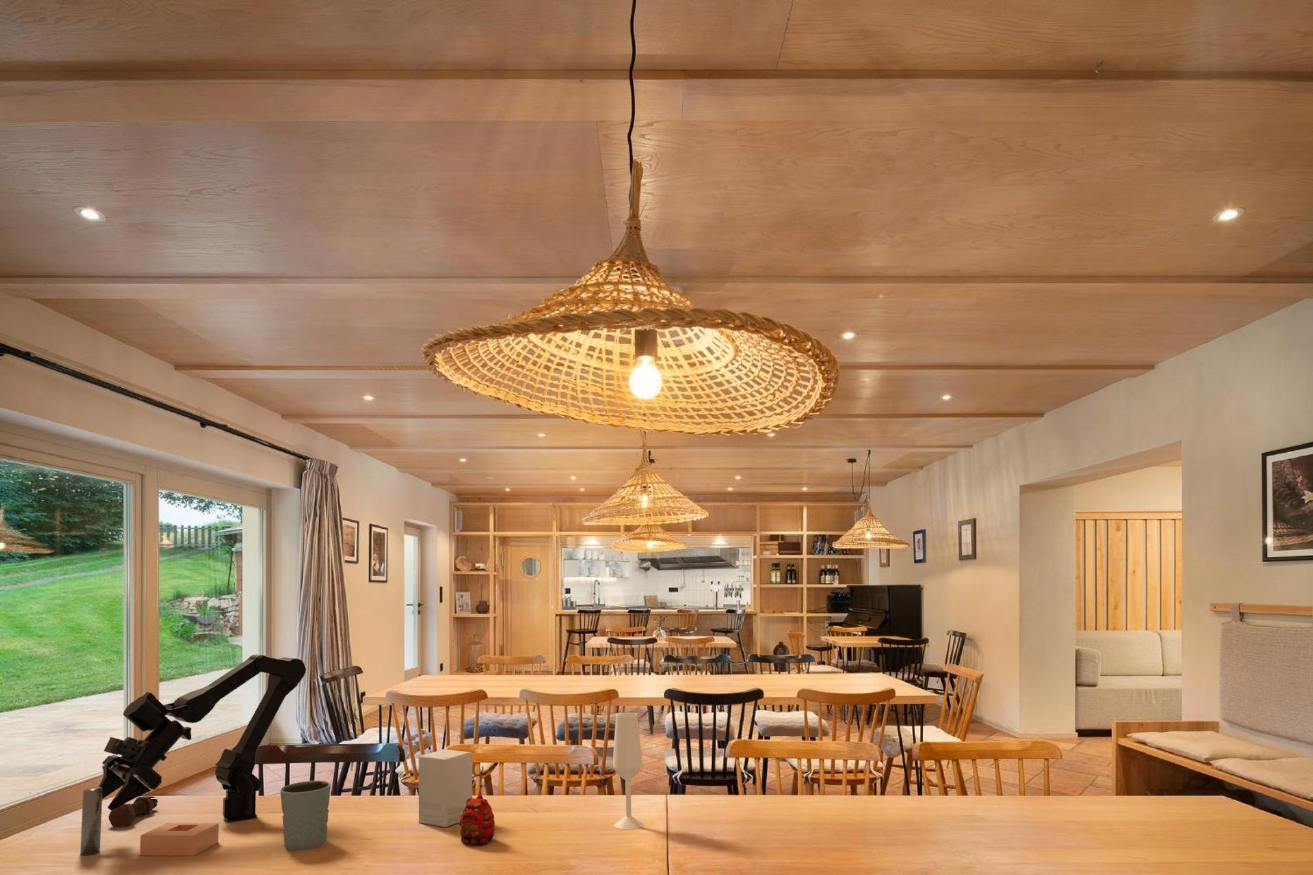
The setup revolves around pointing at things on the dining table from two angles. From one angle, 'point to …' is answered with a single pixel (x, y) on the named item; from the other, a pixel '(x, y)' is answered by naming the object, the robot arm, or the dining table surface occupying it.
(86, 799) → the peg
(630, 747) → the champagne flute
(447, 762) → the supplement box
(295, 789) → the green cup
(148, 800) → the bolt
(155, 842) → the socket block
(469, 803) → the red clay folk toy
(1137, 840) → the dining table surface
